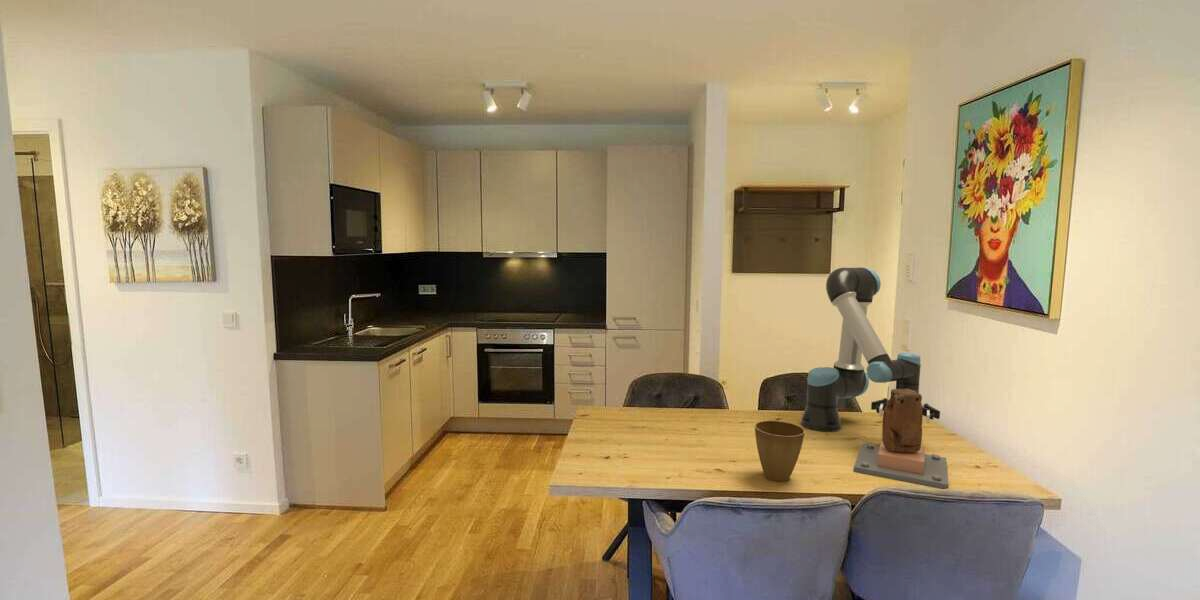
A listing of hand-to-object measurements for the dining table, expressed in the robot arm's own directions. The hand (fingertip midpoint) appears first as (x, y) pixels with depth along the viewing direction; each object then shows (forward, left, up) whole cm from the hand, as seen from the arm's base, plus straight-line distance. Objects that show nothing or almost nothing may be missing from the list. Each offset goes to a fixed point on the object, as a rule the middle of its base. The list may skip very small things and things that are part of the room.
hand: (903, 416), depth 180 cm
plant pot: (-33, -28, -18) cm, 47 cm away
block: (0, +3, -13) cm, 13 cm away
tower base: (0, +3, -18) cm, 18 cm away
